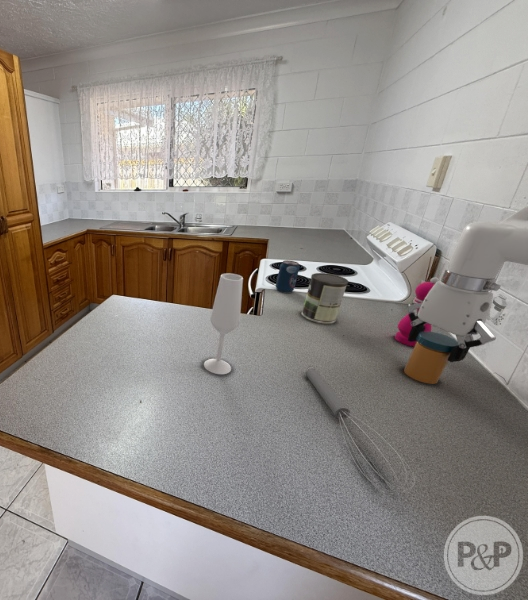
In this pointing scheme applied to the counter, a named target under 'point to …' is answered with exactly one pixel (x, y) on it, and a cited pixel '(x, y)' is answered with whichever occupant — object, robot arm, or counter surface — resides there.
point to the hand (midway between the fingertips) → (432, 350)
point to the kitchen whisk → (343, 413)
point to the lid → (436, 341)
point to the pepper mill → (405, 322)
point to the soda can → (287, 276)
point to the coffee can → (324, 297)
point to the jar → (426, 364)
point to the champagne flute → (225, 316)
